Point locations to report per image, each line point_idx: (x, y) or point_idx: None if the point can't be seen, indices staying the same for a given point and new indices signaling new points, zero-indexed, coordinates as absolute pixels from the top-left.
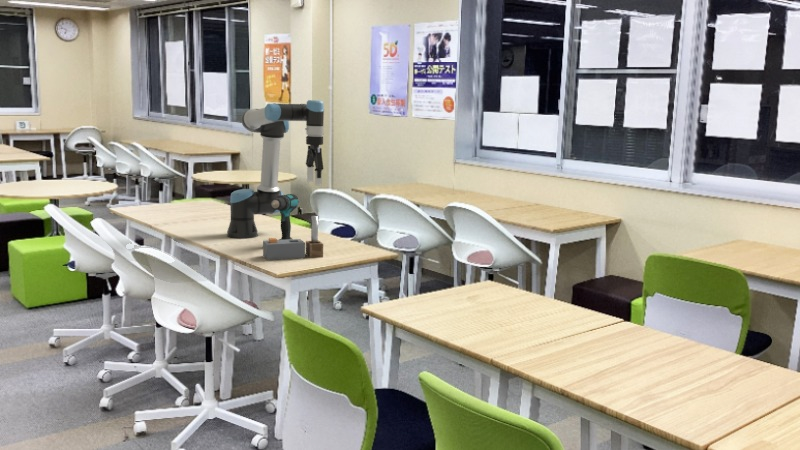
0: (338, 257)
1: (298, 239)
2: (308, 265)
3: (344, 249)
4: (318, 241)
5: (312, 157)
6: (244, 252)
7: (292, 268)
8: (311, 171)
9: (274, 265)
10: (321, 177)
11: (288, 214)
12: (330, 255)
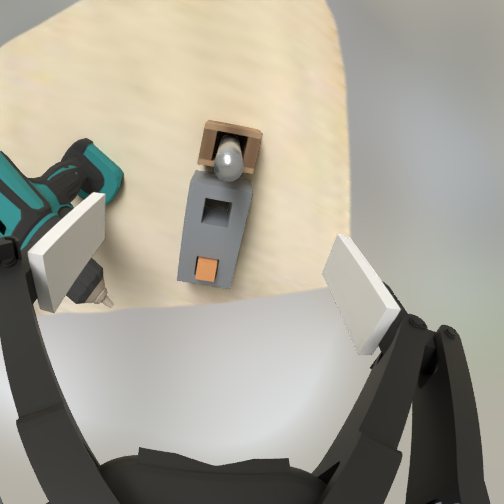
0: (285, 96)
1: (197, 190)
2: (323, 207)
3: (198, 33)
4: (222, 130)
5: (72, 418)
6: (136, 279)
7: (327, 249)
8: (67, 251)
9: (283, 270)
10: (372, 270)
11: (46, 190)
12: (251, 102)
